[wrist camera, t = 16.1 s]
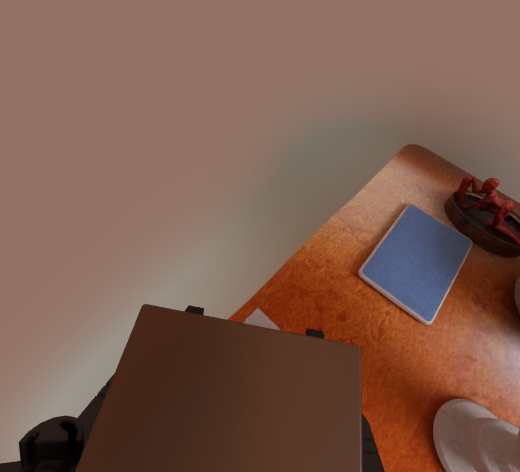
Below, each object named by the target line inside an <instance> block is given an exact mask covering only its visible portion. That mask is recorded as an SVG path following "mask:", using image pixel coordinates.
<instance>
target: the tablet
mask: <svg viewBox="0 0 520 472" xmlns="http://www.w3.org/2000/svg"><path fill="white" fill-rule="evenodd" d="M472 246H473V242H472V240H471V239H469V238H468V237H466V236H464V235H463V234H461V233H459V232H458V231H456V230H454V229H453V228H451V227H449V226H448V225H446V224H444V223H443V222H441V221H439V220H438V219H436V218H435V217H433V216H431V215H430V214H428V213H426V212H425V211H423V210H421V209H420V208H418V207H416V206H415V205H413V204H408V205H407V206H406V207H405V208H404V209H403V211H402V212H401V213H400V215H399V216H398V218H397V219H396V220H395V222H394V223H393V224H392V226H391V227H390V228H389V230H388V231H387V232H386V234H385V235H384V236H383V238H382V239H381V240H380V242H379V243H378V244H377V246H376V247H375V249H374V250H373V251H372V253H371V254H370V255H369V257H368V258H367V259H366V261H365V262H364V263H363V265H362V266H361V267H360V269H359V271H358V275H359V276H360V277H361V278H362V279H363V280H364V281H366V282H367V283H368V284H370V285H371V286H372V287H373V288H375V289H376V290H377V291H379V292H380V293H381V294H383V295H384V296H385V297H387V298H388V299H389V300H391V301H392V302H394V303H395V304H396V305H398V306H399V307H400V308H402V309H403V310H405V311H406V312H407V313H409V314H410V315H412V316H413V317H414V318H416V319H417V320H419V321H420V322H422V323H423V324H425V325H430V324H431V323H432V322H433V321H434V319H435V317H436V315H437V313H438V311H439V309H440V307H441V305H442V304H443V302H444V300H445V298H446V296H447V294H448V292H449V290H450V288H451V286H452V284H453V282H454V281H455V279H456V277H457V275H458V273H459V271H460V269H461V267H462V266H463V264H464V262H465V260H466V257H467V256H468V254H469V251H470V249H471V247H472Z"/></svg>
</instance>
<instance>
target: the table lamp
mask: <svg viewBox="0 0 520 472" xmlns="http://www.w3.org/2000/svg"><path fill="white" fill-rule="evenodd" d="M433 438H434V444H435V448H436V451H437V454H438V457H439V459H440V461H441V463H442V465H443V467H444V469H445V471H446V472H520V429H518V428H517V427H516V426H514V425H513V424H511V423H509V422H507V421H504V420H500V419H497V417H496V416H495V415H493V414H492V413H491V412H490V411H489V410H488V409H486V408H485V407H483V406H482V405H480V404H478V403H476V402H474V401H471V400H467V399H454V400H450V401H448V402H446V403H445V404H444V405H442V406H441V407H440V409H439V410H438V412H437V414H436V416H435V420H434V425H433Z"/></svg>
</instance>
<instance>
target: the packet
mask: <svg viewBox="0 0 520 472" xmlns="http://www.w3.org/2000/svg"><path fill="white" fill-rule="evenodd" d="M75 472H362V389H361V348H360V347H359V346H358V345H353V344H348V343H343V342H337V341H332V340H327V339H322V338H317V337H312V336H307V335H302V334H297V333H291V332H286V331H281V330H276V329H271V328H266V327H261V326H256V325H250V324H245V323H240V322H235V321H230V320H225V319H220V318H215V317H210V316H204V315H199V314H194V313H189V312H184V311H179V310H173V309H168V308H163V307H158V306H153V305H148V304H144V305H143V306H142V308H141V310H140V312H139V315H138V317H137V320H136V322H135V325H134V328H133V330H132V332H131V335H130V337H129V340H128V342H127V345H126V347H125V349H124V352H123V355H122V357H121V359H120V362H119V364H118V367H117V369H116V372H115V374H114V377H113V379H112V382H111V384H110V387H109V389H108V391H107V394H106V396H105V399H104V401H103V404H102V406H101V409H100V411H99V414H98V416H97V419H96V421H95V424H94V426H93V429H92V431H91V434H90V436H89V438H88V441H87V443H86V446H85V448H84V451H83V453H82V456H81V458H80V461H79V463H78V466H77V468H76V471H75Z"/></svg>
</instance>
